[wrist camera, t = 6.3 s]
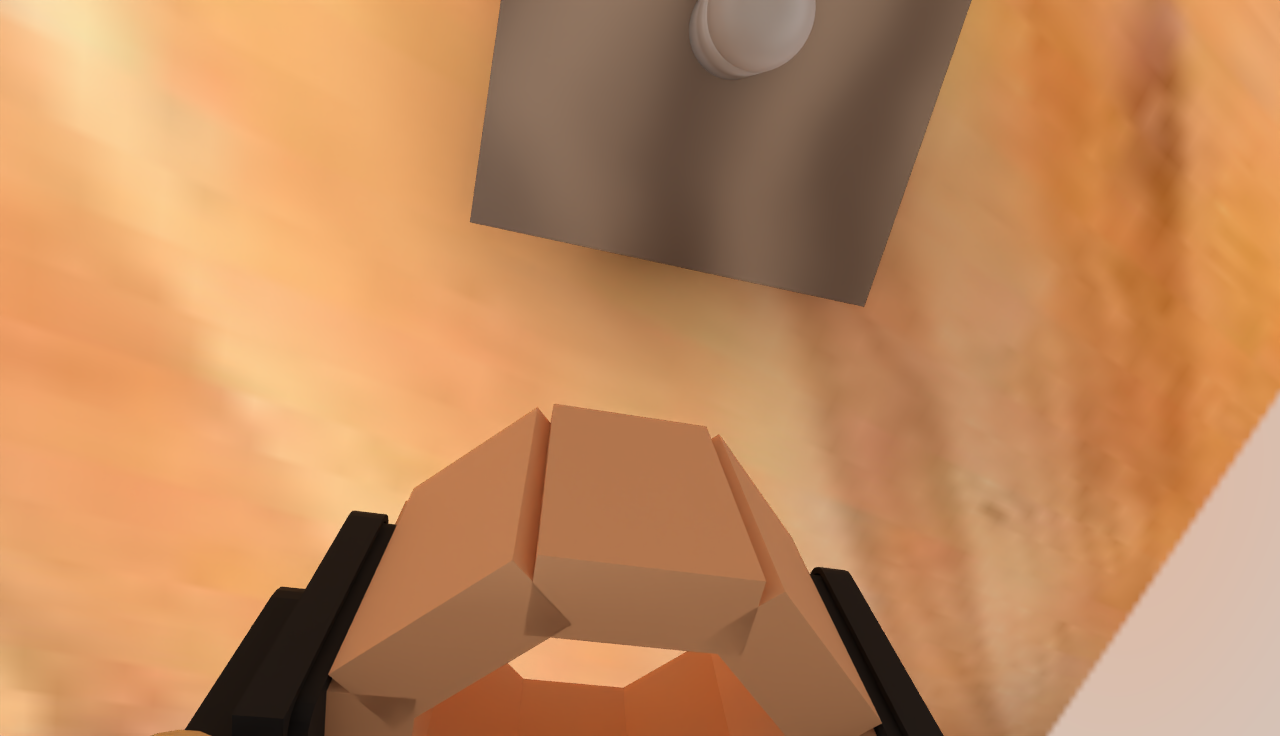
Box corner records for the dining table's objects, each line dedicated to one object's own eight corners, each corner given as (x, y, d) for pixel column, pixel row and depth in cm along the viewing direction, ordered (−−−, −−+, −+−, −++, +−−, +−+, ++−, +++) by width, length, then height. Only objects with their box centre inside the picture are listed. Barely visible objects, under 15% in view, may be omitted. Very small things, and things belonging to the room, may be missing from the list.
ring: (827, 444, 12) (942, 602, 8) (730, 737, 14) (783, 966, 10) (416, 383, 11) (324, 529, 7) (387, 710, 13) (306, 951, 9)
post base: (1009, -171, 22) (1173, -286, 15) (849, 297, 27) (926, 348, 21) (553, -325, 19) (538, -528, 13) (476, 216, 25) (439, 247, 19)
